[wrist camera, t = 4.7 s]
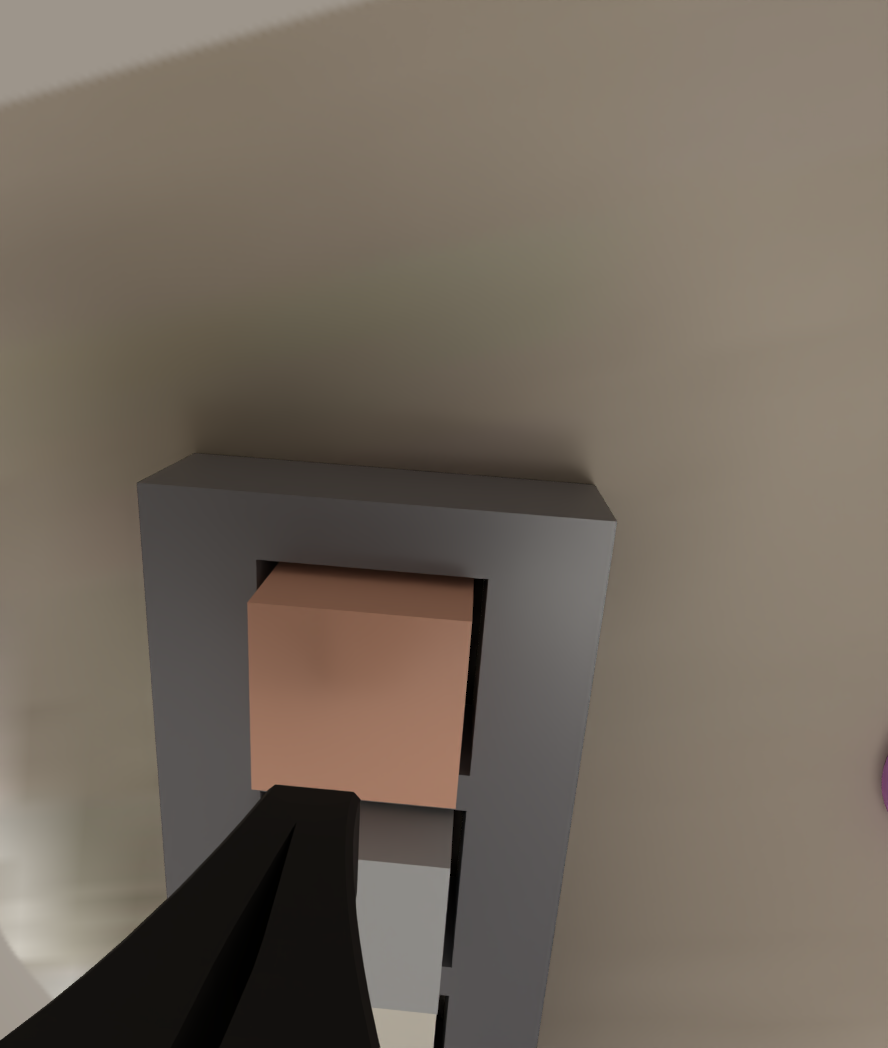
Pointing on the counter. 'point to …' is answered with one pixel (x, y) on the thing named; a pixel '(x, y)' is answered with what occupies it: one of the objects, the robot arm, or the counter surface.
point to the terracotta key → (359, 681)
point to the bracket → (885, 784)
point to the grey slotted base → (489, 723)
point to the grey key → (403, 902)
